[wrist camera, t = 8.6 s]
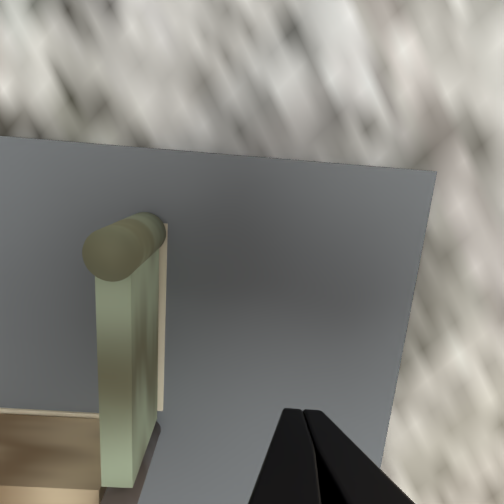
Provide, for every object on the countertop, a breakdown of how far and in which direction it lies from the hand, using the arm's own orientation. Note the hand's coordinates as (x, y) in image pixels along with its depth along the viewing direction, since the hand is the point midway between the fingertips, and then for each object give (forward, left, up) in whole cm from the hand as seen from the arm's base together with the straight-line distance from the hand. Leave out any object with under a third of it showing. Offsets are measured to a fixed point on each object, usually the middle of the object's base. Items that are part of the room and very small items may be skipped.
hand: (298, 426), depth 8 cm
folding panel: (-6, -2, -9) cm, 11 cm away
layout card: (-6, -4, -10) cm, 12 cm away
